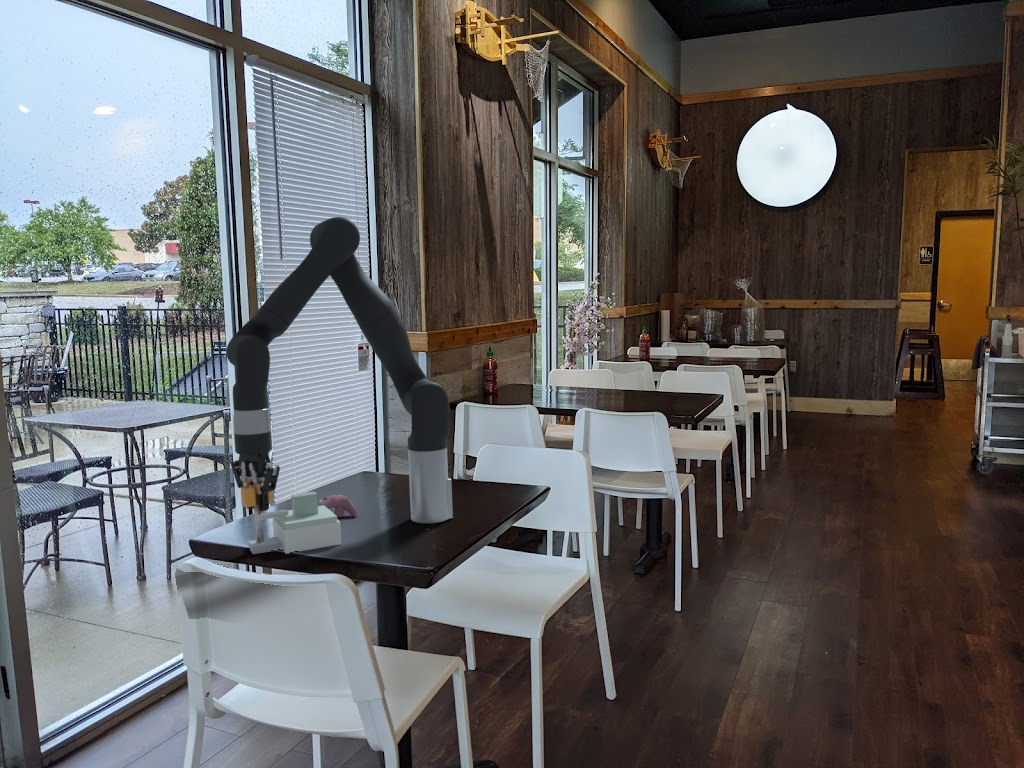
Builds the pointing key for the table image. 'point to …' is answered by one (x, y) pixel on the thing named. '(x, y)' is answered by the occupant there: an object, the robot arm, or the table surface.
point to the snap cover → (306, 512)
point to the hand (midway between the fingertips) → (257, 509)
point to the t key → (257, 509)
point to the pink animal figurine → (339, 505)
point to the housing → (299, 538)
